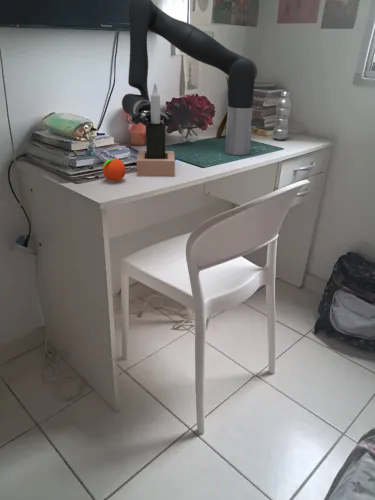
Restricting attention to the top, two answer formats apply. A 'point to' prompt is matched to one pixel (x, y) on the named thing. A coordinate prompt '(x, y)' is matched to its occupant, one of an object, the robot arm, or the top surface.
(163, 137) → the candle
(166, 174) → the holder block
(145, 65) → the robot arm
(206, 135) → the top surface
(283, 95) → the plastic bottle
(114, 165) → the clementine
